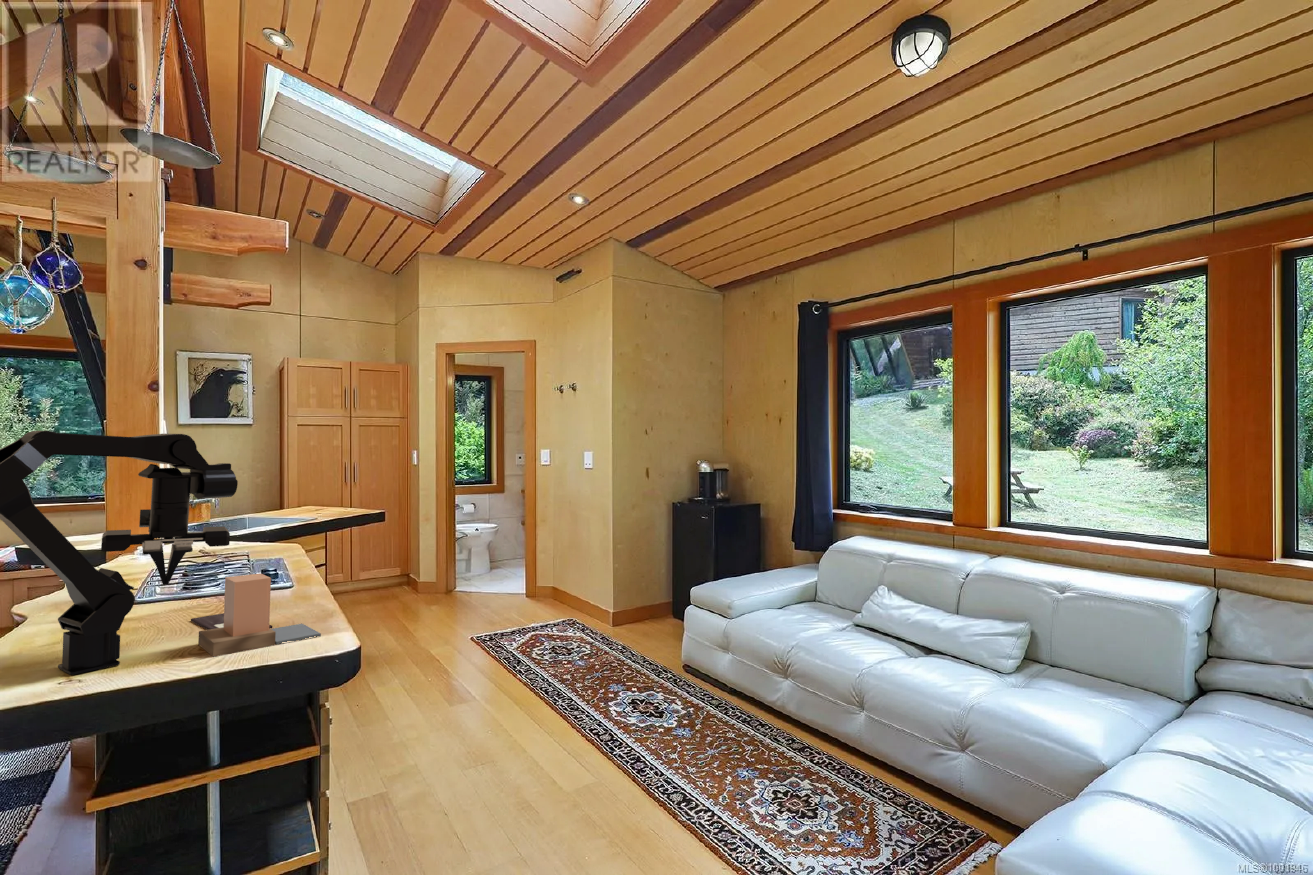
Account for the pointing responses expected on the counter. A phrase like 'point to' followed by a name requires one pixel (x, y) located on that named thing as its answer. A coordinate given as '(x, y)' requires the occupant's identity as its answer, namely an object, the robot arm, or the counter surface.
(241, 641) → the board
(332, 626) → the counter surface
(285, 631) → the mat
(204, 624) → the chocolate bar
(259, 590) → the block
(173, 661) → the counter surface
